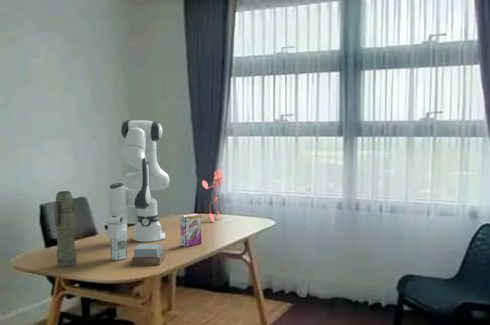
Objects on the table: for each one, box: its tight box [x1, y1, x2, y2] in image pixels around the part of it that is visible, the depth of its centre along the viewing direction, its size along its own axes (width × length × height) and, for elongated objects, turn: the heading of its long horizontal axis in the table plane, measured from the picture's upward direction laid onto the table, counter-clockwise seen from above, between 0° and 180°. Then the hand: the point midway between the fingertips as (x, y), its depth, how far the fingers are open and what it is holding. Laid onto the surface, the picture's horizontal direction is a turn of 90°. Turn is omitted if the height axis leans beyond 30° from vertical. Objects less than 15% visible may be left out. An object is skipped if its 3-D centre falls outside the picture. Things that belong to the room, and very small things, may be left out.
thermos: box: [53, 190, 78, 268], centre depth 260 cm, size 9×12×35 cm
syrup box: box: [110, 229, 128, 261], centre depth 270 cm, size 6×6×14 cm
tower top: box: [133, 243, 163, 257], centre depth 265 cm, size 11×11×4 cm
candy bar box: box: [179, 213, 202, 248], centre depth 298 cm, size 11×5×16 cm, turn 135°
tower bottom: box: [131, 250, 166, 266], centre depth 265 cm, size 13×13×4 cm
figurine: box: [201, 168, 229, 224], centre depth 365 cm, size 15×26×35 cm, turn 152°
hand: (118, 244), depth 270 cm, fingers closed on syrup box, 8 cm apart
